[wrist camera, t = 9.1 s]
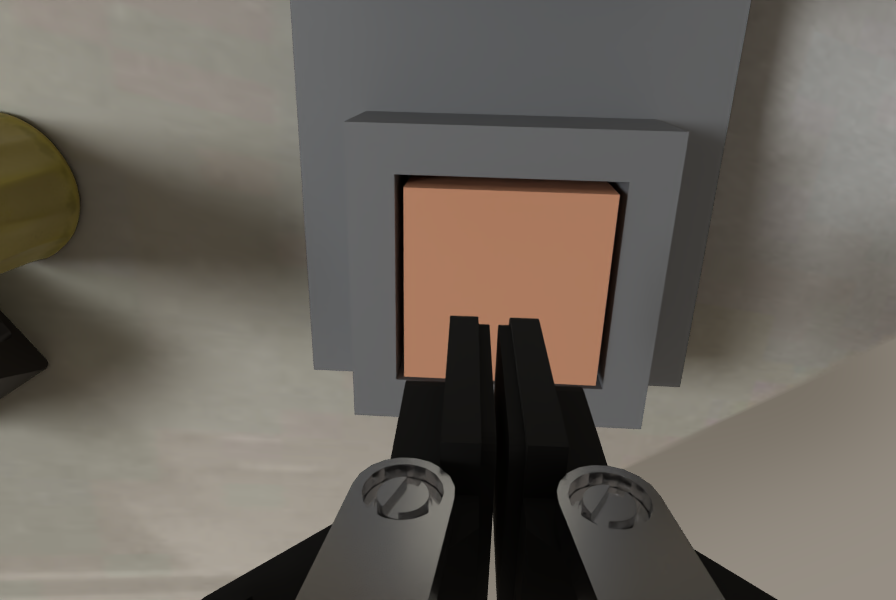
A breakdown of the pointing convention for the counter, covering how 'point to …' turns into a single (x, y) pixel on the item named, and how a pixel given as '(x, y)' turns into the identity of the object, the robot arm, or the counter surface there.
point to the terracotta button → (507, 265)
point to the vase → (33, 195)
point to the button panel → (512, 158)
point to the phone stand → (16, 357)
